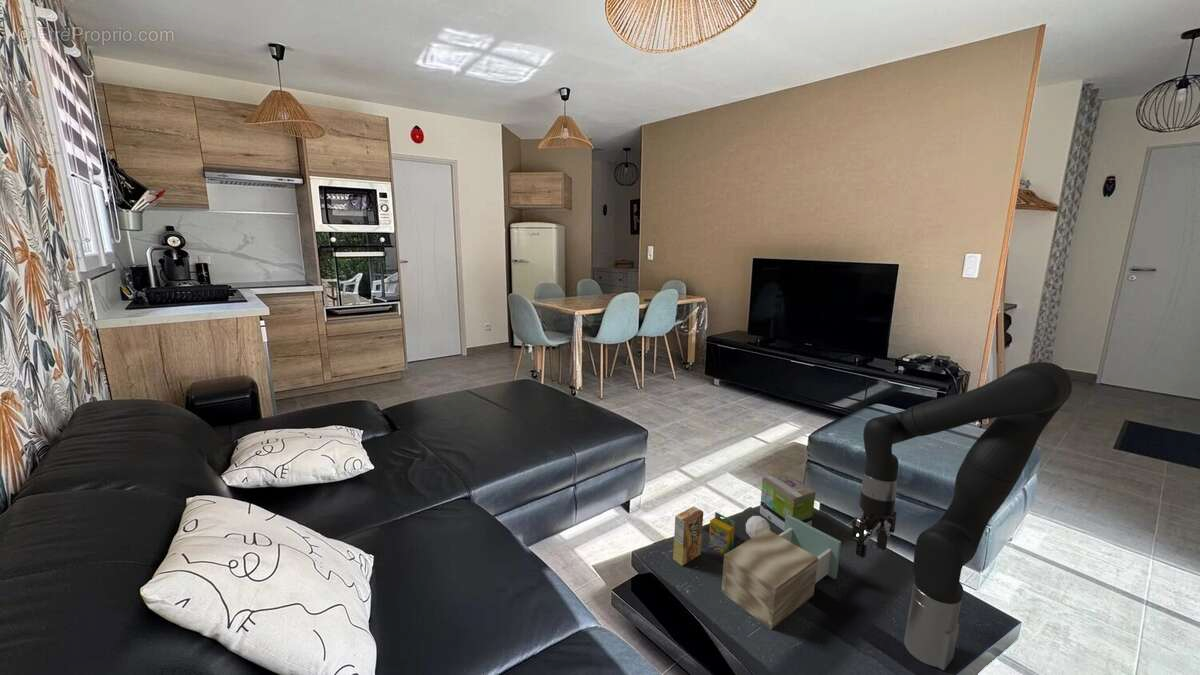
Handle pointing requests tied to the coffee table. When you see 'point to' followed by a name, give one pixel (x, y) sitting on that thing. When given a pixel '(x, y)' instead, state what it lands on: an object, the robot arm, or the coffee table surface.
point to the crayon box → (721, 534)
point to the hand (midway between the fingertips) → (870, 552)
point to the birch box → (769, 577)
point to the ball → (756, 526)
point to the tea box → (786, 500)
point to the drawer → (814, 545)
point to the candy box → (688, 535)
